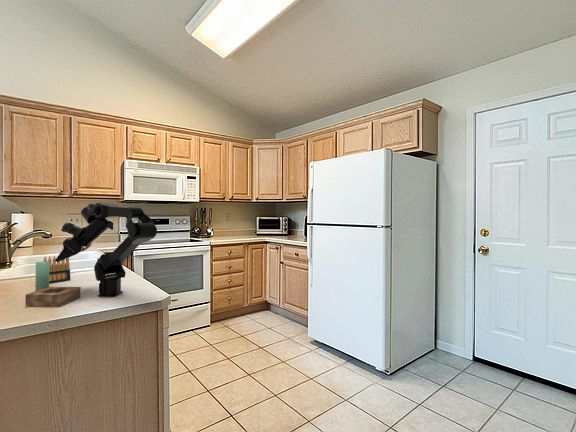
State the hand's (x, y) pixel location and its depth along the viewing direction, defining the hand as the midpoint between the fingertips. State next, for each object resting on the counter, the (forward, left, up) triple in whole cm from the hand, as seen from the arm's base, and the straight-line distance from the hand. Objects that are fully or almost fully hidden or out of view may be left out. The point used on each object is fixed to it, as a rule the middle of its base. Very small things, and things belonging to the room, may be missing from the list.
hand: (59, 259), depth 119 cm
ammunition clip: (+15, -20, -14) cm, 29 cm away
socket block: (-5, +10, -13) cm, 17 cm away
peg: (+5, +2, -13) cm, 14 cm away
